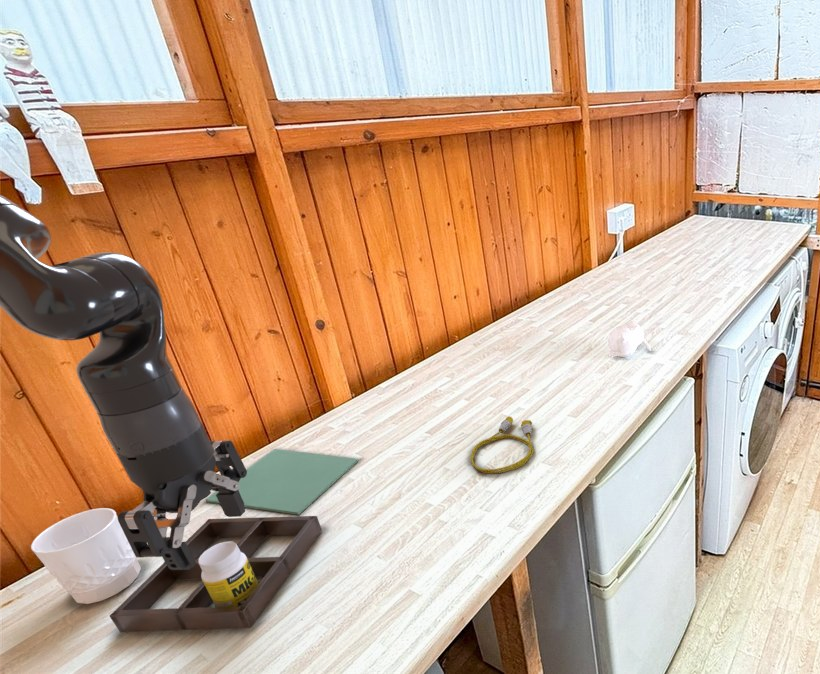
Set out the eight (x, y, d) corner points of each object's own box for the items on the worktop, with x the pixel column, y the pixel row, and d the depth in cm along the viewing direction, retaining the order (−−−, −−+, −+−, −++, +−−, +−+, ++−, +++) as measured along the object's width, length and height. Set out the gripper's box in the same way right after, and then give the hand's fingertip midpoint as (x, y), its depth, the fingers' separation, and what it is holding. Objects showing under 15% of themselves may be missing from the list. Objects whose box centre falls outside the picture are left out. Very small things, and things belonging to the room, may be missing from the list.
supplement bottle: (244, 615, 67) (221, 568, 64) (208, 615, 67) (183, 568, 64) (269, 584, 72) (249, 538, 68) (235, 584, 72) (213, 538, 68)
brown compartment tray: (119, 632, 65) (108, 615, 64) (215, 533, 80) (208, 518, 79) (250, 628, 66) (242, 611, 64) (322, 530, 81) (316, 515, 79)
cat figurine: (632, 310, 137) (611, 325, 127) (663, 335, 136) (644, 352, 126) (617, 333, 142) (596, 349, 132) (647, 357, 141) (627, 375, 131)
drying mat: (206, 501, 87) (205, 499, 87) (275, 451, 99) (274, 448, 99) (298, 515, 84) (297, 512, 83) (358, 460, 96) (357, 458, 96)
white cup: (144, 551, 77) (115, 499, 73) (148, 583, 72) (116, 528, 68) (69, 583, 72) (33, 529, 68) (67, 619, 67) (28, 563, 63)
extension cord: (558, 436, 102) (557, 427, 101) (502, 483, 90) (500, 474, 89) (512, 420, 108) (510, 411, 107) (452, 462, 95) (450, 453, 94)
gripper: (175, 400, 65) (223, 501, 72) (60, 475, 52) (132, 589, 59) (236, 398, 65) (278, 499, 72) (136, 472, 52) (199, 587, 59)
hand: (212, 539), depth 65 cm, fingers open, 8 cm apart
